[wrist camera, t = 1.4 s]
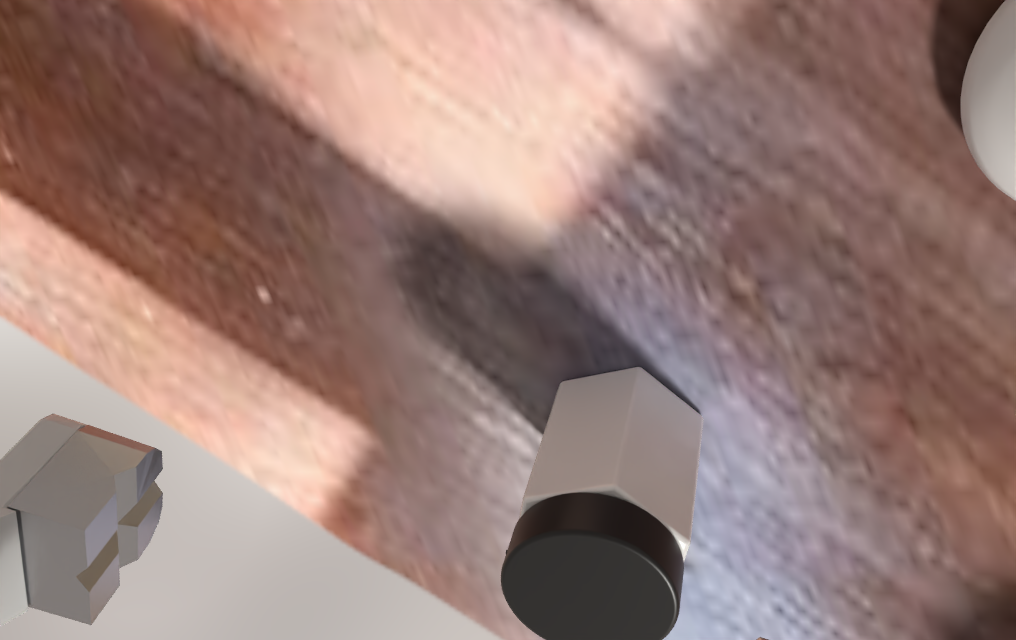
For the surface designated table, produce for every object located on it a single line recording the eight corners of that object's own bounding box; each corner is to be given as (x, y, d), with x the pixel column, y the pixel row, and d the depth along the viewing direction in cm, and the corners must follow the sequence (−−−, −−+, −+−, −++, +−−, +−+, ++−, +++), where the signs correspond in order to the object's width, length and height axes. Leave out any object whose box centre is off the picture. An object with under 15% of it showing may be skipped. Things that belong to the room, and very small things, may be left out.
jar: (516, 420, 53) (457, 581, 44) (609, 337, 49) (567, 497, 39) (635, 510, 55) (603, 686, 45) (736, 438, 50) (725, 616, 41)
